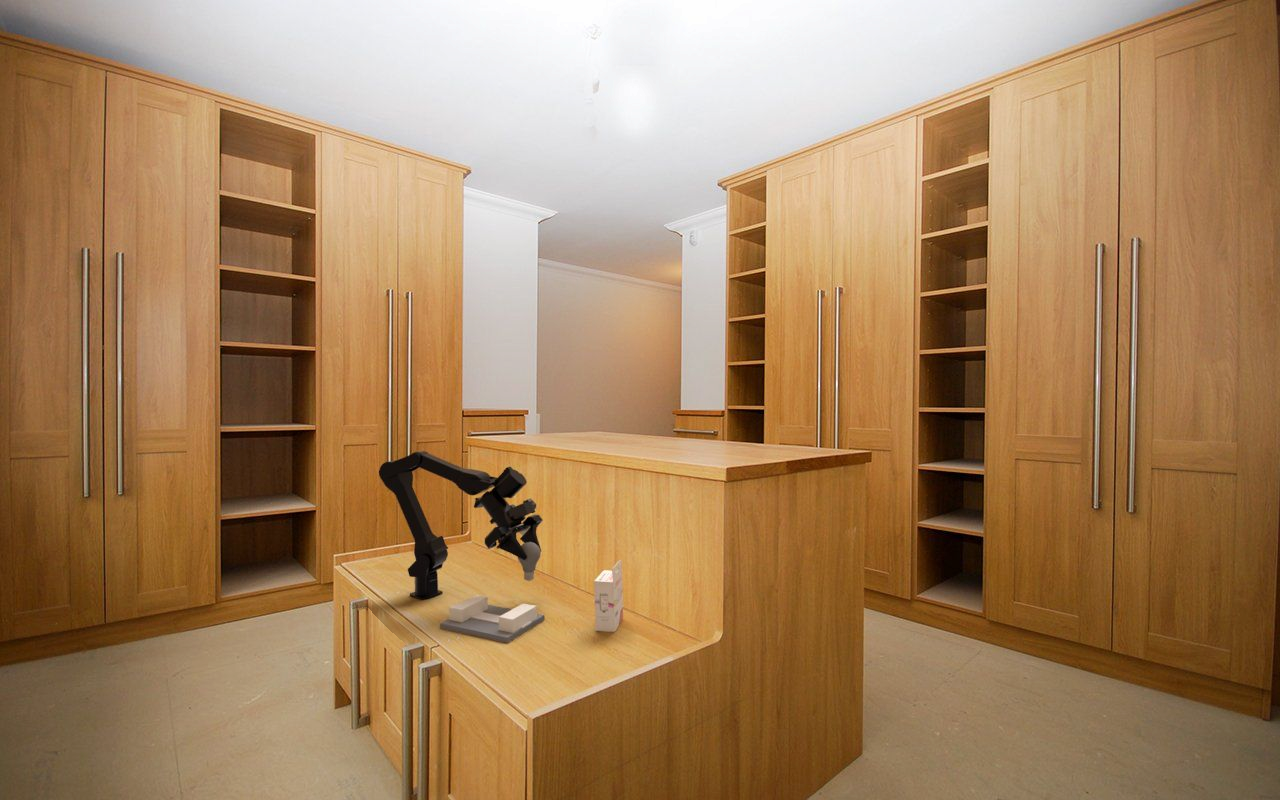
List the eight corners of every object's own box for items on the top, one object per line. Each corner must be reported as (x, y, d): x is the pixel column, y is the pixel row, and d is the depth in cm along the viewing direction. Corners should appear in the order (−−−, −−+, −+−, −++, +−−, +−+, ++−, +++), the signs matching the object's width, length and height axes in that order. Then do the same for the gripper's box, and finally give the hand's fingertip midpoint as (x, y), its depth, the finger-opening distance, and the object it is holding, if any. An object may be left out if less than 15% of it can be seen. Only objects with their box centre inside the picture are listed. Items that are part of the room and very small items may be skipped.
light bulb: (518, 576, 148) (518, 539, 148) (541, 575, 148) (541, 538, 148) (516, 584, 142) (515, 545, 142) (539, 583, 142) (539, 545, 142)
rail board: (440, 628, 130) (439, 610, 130) (480, 607, 143) (480, 591, 143) (507, 643, 122) (507, 624, 122) (544, 619, 135) (544, 602, 135)
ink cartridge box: (603, 617, 136) (603, 557, 136) (623, 618, 135) (622, 558, 135) (594, 631, 128) (593, 567, 128) (614, 632, 127) (614, 568, 127)
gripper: (493, 495, 138) (530, 545, 133) (537, 485, 155) (570, 528, 151) (469, 524, 141) (503, 573, 137) (514, 510, 158) (546, 554, 154)
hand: (533, 555), depth 144 cm, fingers closed on light bulb, 6 cm apart
